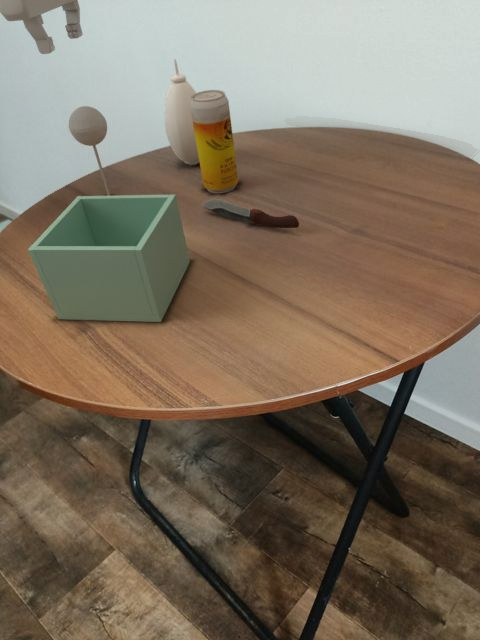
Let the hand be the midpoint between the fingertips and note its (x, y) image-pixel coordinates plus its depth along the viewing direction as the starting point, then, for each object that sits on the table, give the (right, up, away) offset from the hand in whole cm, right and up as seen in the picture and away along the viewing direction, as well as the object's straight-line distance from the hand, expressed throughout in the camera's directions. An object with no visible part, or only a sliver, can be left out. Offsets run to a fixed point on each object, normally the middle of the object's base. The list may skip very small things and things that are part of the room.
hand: (62, 44), depth 76 cm
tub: (+12, -37, -7) cm, 39 cm away
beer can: (+22, -17, +14) cm, 31 cm away
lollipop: (+2, -18, +16) cm, 24 cm away
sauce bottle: (+16, -9, +24) cm, 30 cm away
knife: (+27, -25, +4) cm, 37 cm away
